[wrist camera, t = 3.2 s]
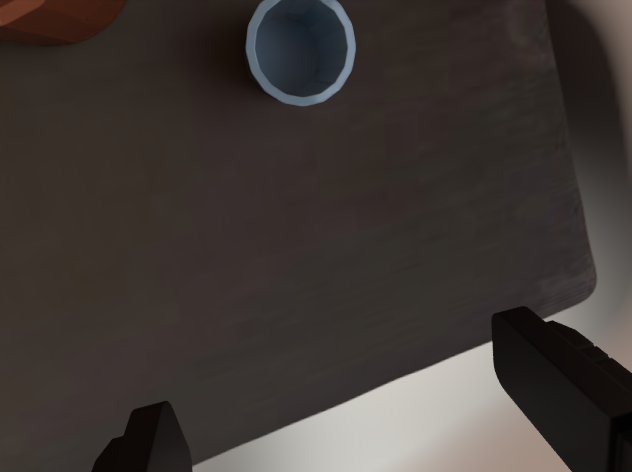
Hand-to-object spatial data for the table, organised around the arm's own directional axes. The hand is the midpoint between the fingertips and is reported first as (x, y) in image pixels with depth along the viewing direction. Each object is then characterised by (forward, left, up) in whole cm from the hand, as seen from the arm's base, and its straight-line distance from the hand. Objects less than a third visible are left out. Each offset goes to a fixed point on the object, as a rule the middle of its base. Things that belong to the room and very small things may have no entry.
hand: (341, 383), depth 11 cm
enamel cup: (+9, 0, -27) cm, 28 cm away
